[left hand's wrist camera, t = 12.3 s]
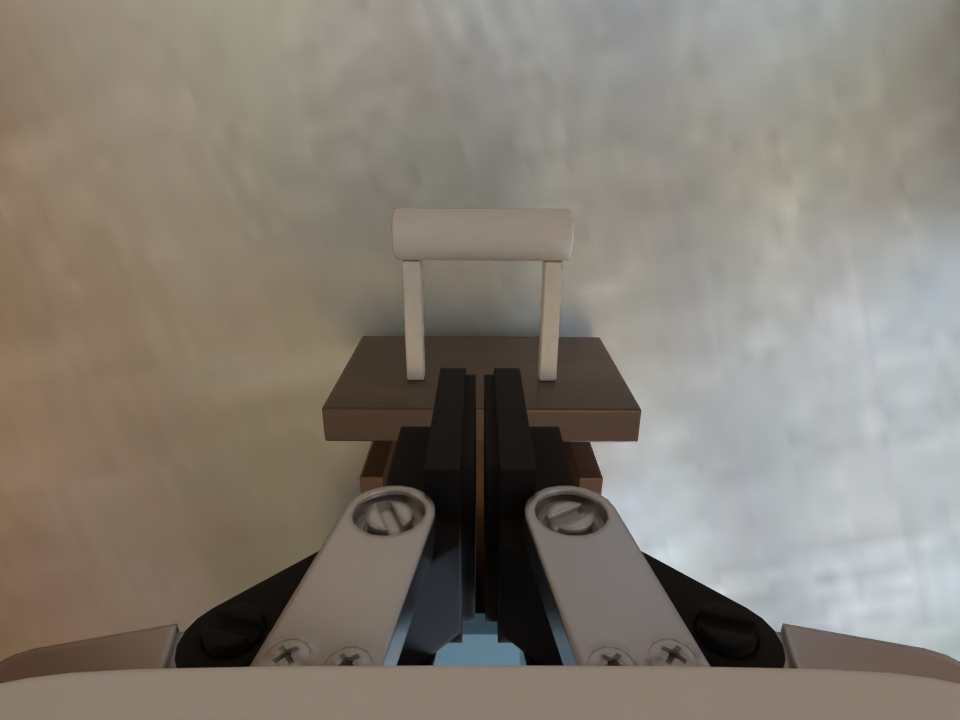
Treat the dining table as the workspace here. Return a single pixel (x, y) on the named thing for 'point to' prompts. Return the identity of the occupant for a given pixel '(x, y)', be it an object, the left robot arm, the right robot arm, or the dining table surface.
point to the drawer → (482, 354)
